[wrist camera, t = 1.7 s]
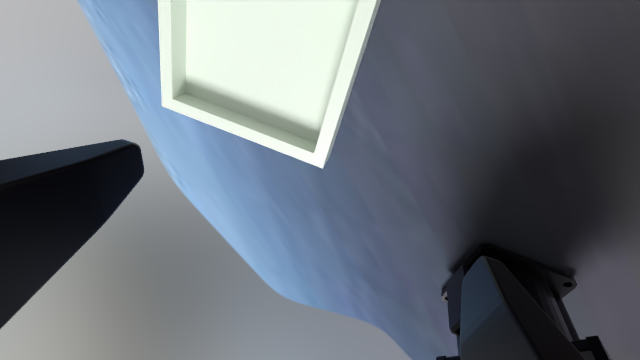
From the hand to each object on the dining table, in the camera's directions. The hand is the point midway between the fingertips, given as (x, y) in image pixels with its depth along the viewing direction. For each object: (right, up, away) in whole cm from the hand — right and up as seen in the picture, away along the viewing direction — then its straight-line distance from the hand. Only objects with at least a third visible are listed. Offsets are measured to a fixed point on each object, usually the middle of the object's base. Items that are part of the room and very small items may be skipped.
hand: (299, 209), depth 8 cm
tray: (-3, +9, +11) cm, 14 cm away
